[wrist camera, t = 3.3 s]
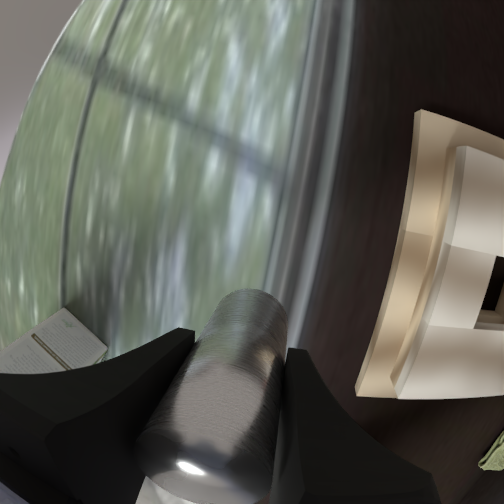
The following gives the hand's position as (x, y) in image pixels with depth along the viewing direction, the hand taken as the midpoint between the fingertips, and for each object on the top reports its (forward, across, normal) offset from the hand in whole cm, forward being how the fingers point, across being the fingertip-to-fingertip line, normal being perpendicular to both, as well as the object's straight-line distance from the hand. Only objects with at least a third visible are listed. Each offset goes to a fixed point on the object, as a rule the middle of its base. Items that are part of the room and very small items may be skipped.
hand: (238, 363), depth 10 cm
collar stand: (+10, -16, -2) cm, 19 cm away
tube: (+3, 0, 0) cm, 3 cm away
